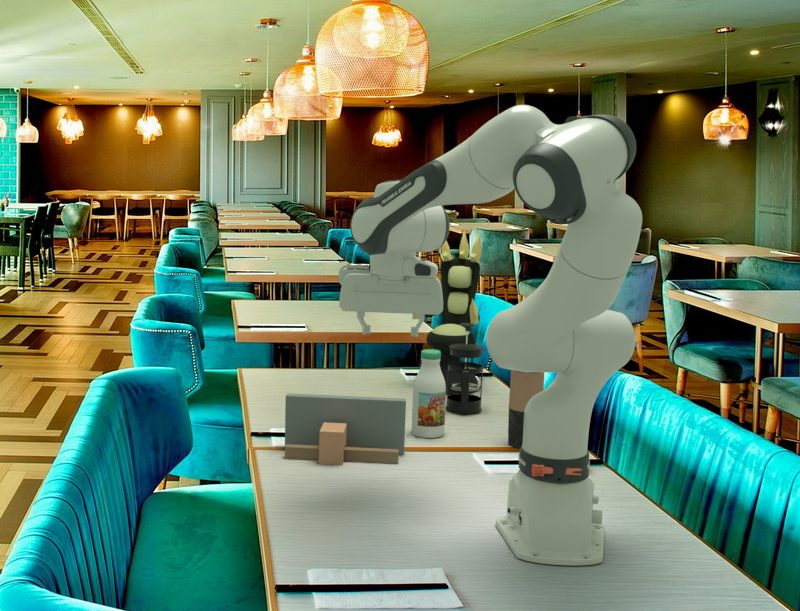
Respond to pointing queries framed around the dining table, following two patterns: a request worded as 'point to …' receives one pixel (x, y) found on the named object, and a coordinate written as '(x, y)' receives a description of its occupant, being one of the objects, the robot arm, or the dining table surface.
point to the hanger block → (332, 443)
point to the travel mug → (521, 402)
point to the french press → (465, 378)
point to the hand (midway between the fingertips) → (390, 335)
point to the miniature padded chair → (456, 306)
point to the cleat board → (366, 426)
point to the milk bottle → (429, 397)
